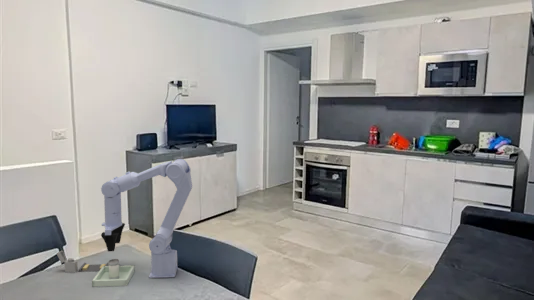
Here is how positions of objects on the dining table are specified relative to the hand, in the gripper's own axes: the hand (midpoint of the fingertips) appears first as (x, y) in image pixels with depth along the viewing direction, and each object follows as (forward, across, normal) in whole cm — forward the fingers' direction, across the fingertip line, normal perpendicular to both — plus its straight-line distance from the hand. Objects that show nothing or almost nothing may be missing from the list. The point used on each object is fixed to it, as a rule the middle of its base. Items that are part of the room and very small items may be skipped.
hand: (114, 246), depth 138 cm
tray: (+10, +6, +2) cm, 12 cm away
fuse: (+9, +6, +1) cm, 11 cm away
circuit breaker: (+10, -1, -17) cm, 20 cm away
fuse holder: (+10, -3, -8) cm, 13 cm away
